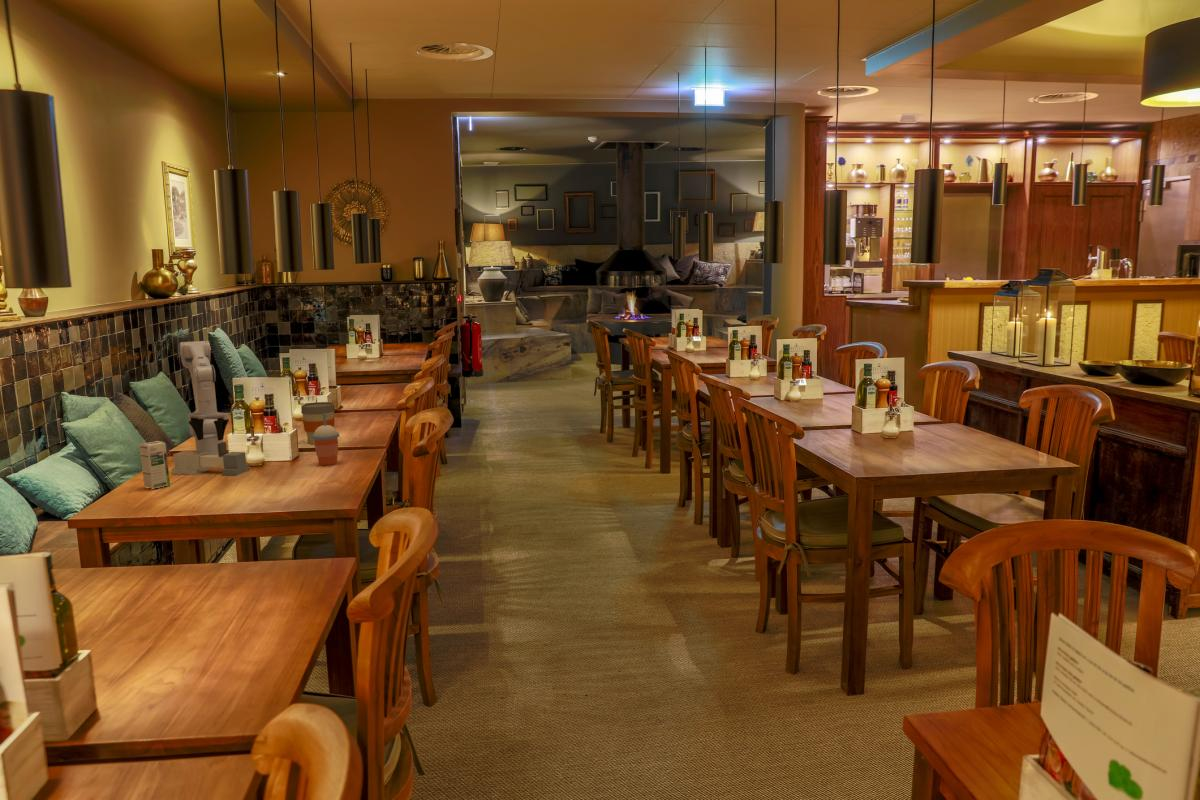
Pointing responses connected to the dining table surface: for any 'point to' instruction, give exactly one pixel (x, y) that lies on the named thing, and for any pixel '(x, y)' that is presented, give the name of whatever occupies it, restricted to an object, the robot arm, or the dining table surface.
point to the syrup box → (154, 464)
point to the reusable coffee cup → (316, 417)
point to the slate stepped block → (234, 463)
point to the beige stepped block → (188, 463)
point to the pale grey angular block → (214, 457)
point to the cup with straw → (326, 443)
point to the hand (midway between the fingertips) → (210, 439)
